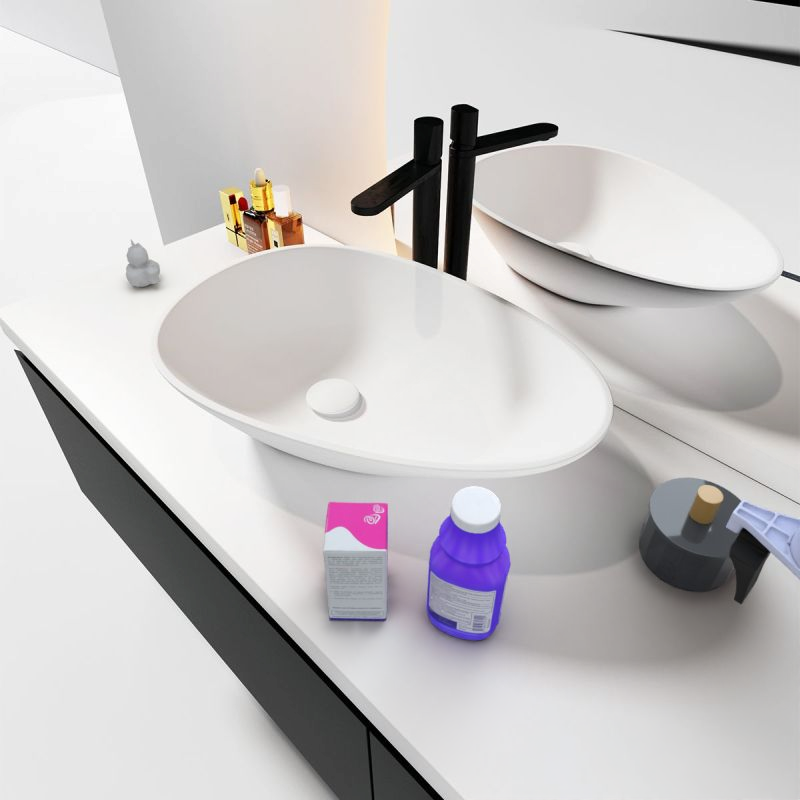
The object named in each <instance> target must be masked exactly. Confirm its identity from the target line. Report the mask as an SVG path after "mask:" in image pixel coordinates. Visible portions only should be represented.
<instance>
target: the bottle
mask: <svg viewBox="0 0 800 800" xmlns="http://www.w3.org/2000/svg"><path fill="white" fill-rule="evenodd" d="M501 510H502V505H501V500H500V499H499V497H498V496H497V495H496V494H495V493H494V492H493V491H492V490H490V489H488V488H486V487H483V486H477V485H472V486H466V487H462V488H461V489H459V490H458V491H457V492H456V493H455V494H454V495H453V497H452V500H451V506H450V510H449V511H450V513H449V515H448V516H447V517H446V518H444V520H443V521H442V523H441V524H440V525H439V529H438V535H437V537H435V540H434V541H433V542H432V545H431V547H430V551H429V560H428V574H427V590H426V591H427V592H426V613H427V616H428V619H429V621H430V622H431V624H432V625H433V626H434V627H435V628H437V629H438V630H439V631H441V632H443V633H445V634H447V635H449V636H452V637H454V638H457V639H462V640H465V641H466V640H467V641H481V640H482V641H483V640H485V639H487V638H488V637H489V636H491V635H492V634H493V632H494V631H495V630H496V628H497V626H498V625H499V623H500V619H501V616H502V608H503V604H504V598H505V593H506V587H507V583H508V577H509V573H510V569H511V555H510V552H509V548H508V546H507V534H506V532H505V529H504V526H503V524H501V517H502V515H501V512H502V511H501Z"/></svg>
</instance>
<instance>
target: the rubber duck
mask: <svg viewBox="0 0 800 800" xmlns="http://www.w3.org/2000/svg"><path fill="white" fill-rule="evenodd" d="M130 245H131V246H129V247H128V249H127V251H126V252H127V253H126V255H125V256H126V260H127V262H128V264H127V265H126V267H125V270H126V271H125V277H126V280H127V281H128V283H130V285H132V286H134V287H138V288H144V287H148V286H150V285H156V284H158V283H160V275H161V267H160V264H159V262H157V261H155V260H153V259H149V254H148V250H147V249H146V248H145V247H144V246H143V245H141V243H139V242H136V243H135V242H134V241H133V240H132V239H130Z"/></svg>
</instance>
